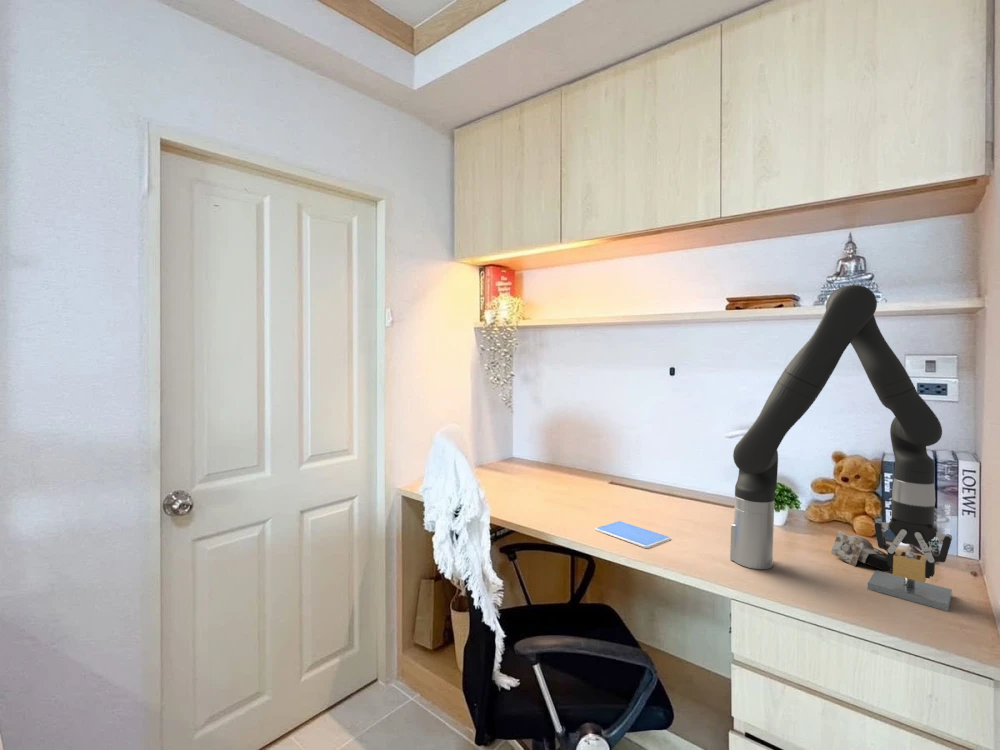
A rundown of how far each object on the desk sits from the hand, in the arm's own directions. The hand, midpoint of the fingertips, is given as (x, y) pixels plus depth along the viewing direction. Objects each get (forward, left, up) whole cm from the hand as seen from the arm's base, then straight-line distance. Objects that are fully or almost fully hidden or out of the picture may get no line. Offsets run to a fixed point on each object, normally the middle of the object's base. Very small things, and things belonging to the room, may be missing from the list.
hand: (910, 572), depth 114 cm
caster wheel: (-11, +13, -5) cm, 18 cm away
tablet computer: (-64, -14, -5) cm, 65 cm away
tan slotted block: (0, 0, -1) cm, 1 cm away
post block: (0, 0, -5) cm, 5 cm away
